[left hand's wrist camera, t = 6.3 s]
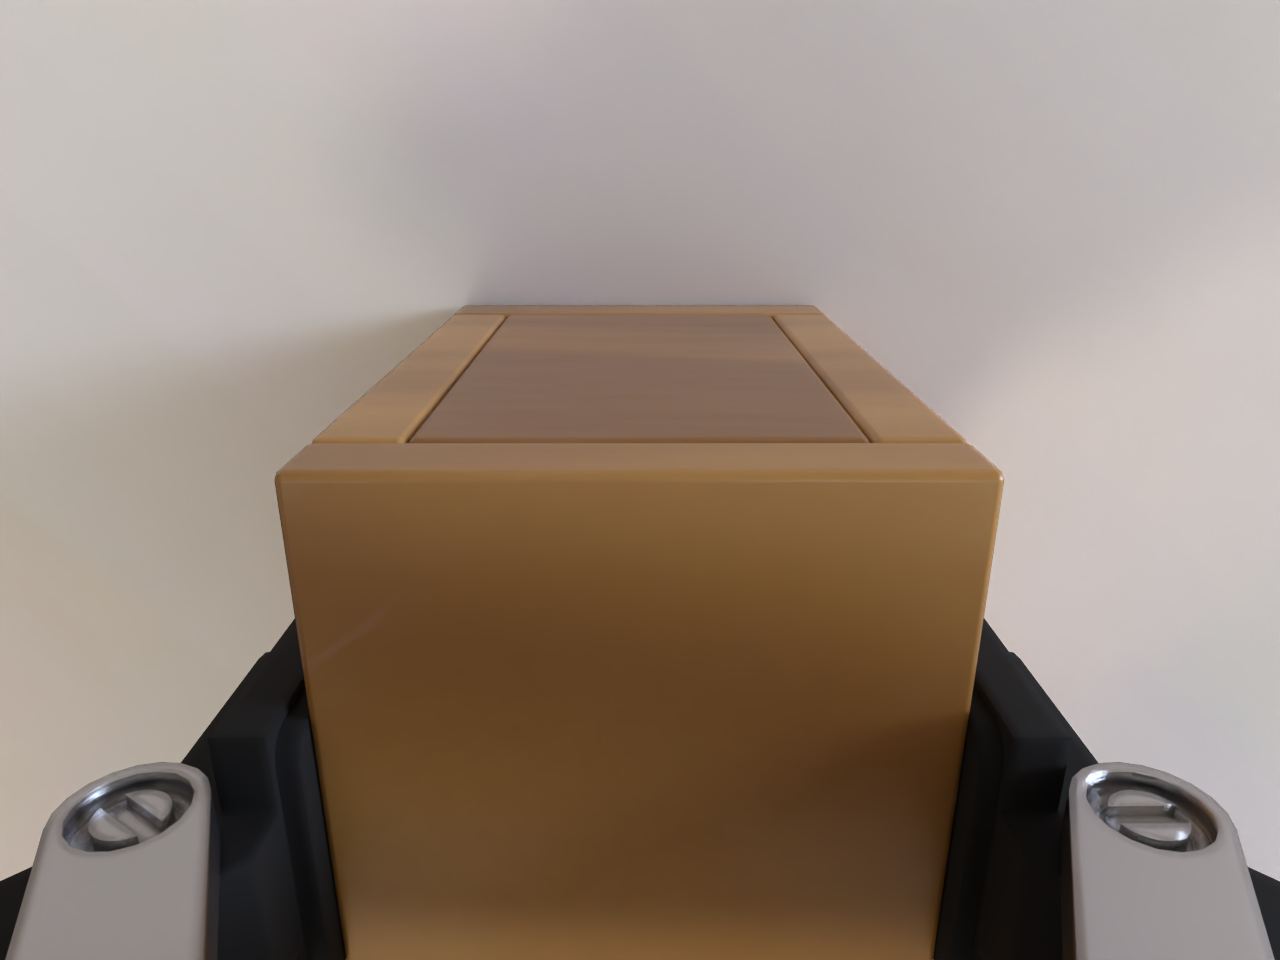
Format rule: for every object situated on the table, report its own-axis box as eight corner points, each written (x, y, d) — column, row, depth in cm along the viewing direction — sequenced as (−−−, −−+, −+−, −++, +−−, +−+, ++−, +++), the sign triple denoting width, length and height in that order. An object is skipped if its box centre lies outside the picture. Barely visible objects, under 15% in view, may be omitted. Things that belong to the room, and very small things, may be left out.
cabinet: (761, 1119, 22) (830, 1664, 14) (517, 1119, 22) (449, 1665, 14) (816, 304, 15) (1010, 472, 7) (462, 304, 15) (267, 472, 7)
